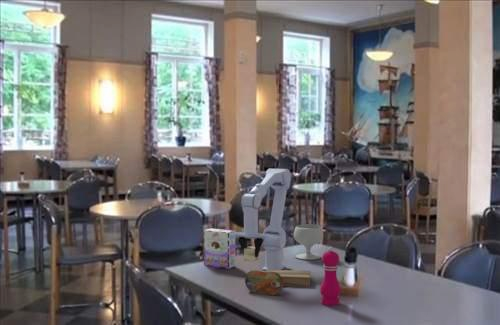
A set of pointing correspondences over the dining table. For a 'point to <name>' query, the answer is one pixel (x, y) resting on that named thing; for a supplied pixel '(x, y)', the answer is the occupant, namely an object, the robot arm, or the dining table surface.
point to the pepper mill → (330, 279)
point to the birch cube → (250, 254)
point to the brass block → (294, 277)
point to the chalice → (308, 239)
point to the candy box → (219, 248)
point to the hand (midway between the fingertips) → (251, 256)
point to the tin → (264, 282)
